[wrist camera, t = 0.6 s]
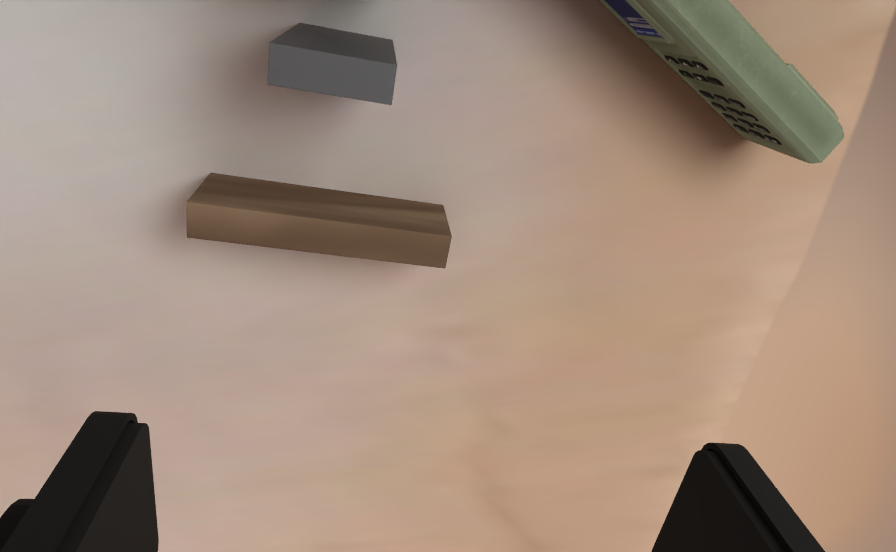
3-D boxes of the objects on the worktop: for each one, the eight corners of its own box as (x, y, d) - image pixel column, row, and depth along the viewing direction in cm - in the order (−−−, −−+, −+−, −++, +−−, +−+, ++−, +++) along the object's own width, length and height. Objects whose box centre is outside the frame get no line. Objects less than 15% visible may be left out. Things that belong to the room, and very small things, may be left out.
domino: (299, 23, 32) (269, 42, 23) (392, 40, 33) (397, 65, 24) (298, 54, 33) (267, 84, 24) (388, 69, 34) (391, 104, 25)
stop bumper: (211, 173, 35) (186, 202, 31) (443, 205, 38) (451, 236, 33) (210, 204, 36) (187, 237, 32) (437, 234, 38) (445, 268, 34)
